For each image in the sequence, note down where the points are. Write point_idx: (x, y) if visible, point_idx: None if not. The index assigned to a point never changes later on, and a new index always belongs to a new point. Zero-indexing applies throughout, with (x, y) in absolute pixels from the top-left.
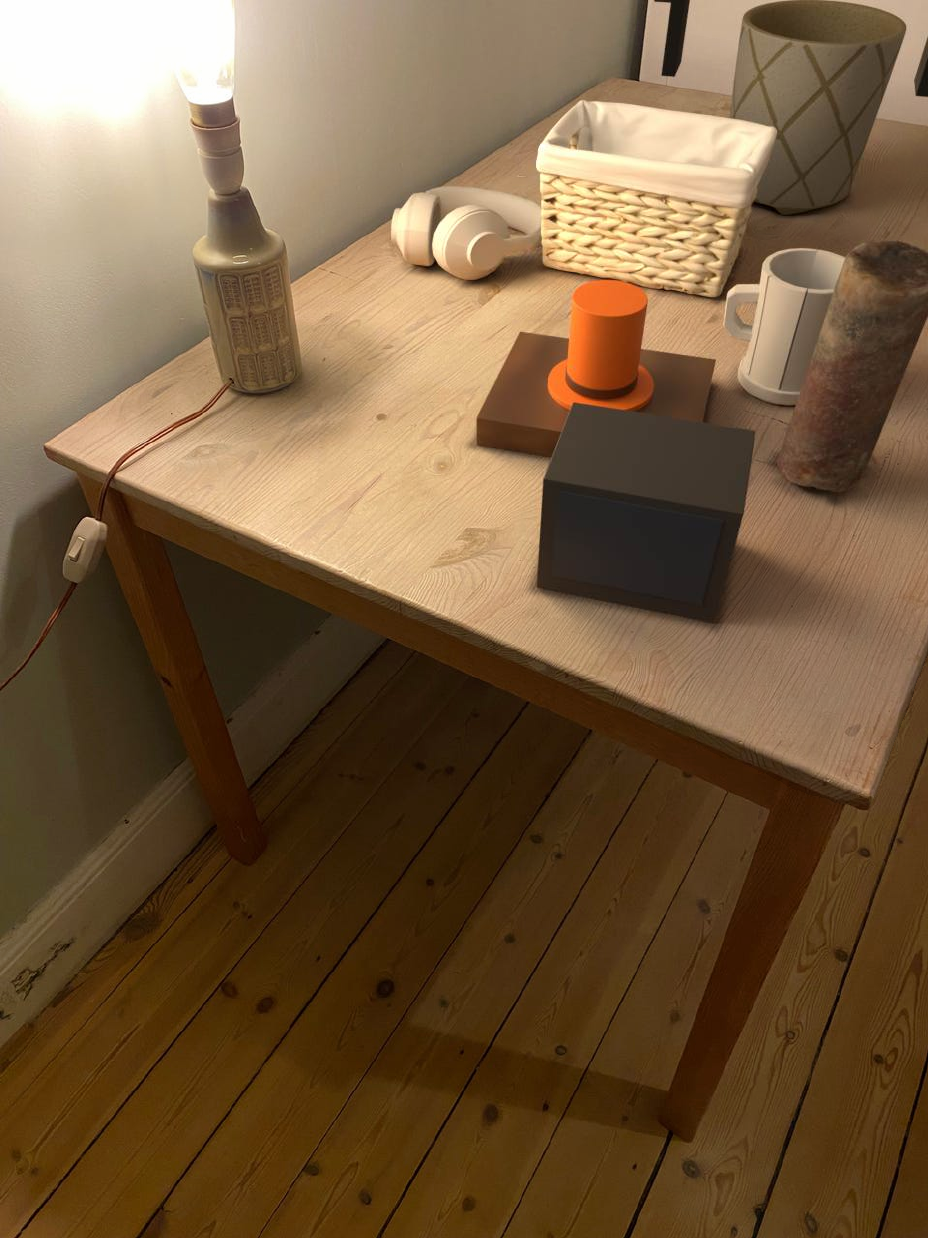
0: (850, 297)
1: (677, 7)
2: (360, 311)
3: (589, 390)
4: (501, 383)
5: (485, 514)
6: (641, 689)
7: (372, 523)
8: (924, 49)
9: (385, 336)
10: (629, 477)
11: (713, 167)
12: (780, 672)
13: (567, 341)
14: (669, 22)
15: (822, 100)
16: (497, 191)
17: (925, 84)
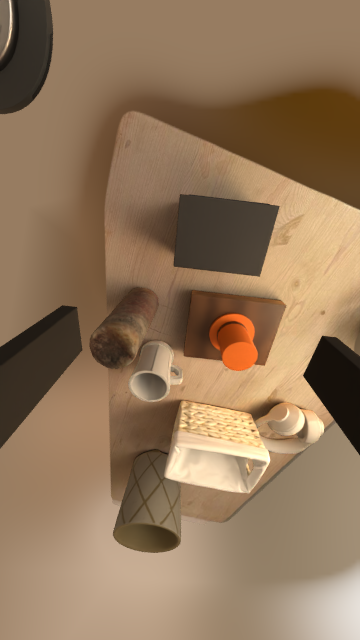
0: (133, 330)
1: None
2: None
3: (238, 323)
4: (274, 330)
5: (278, 254)
6: (212, 150)
7: (330, 240)
8: (66, 362)
9: None
10: (235, 215)
11: (192, 448)
12: (156, 174)
13: None
14: None
15: (145, 495)
16: (272, 451)
17: (65, 310)
